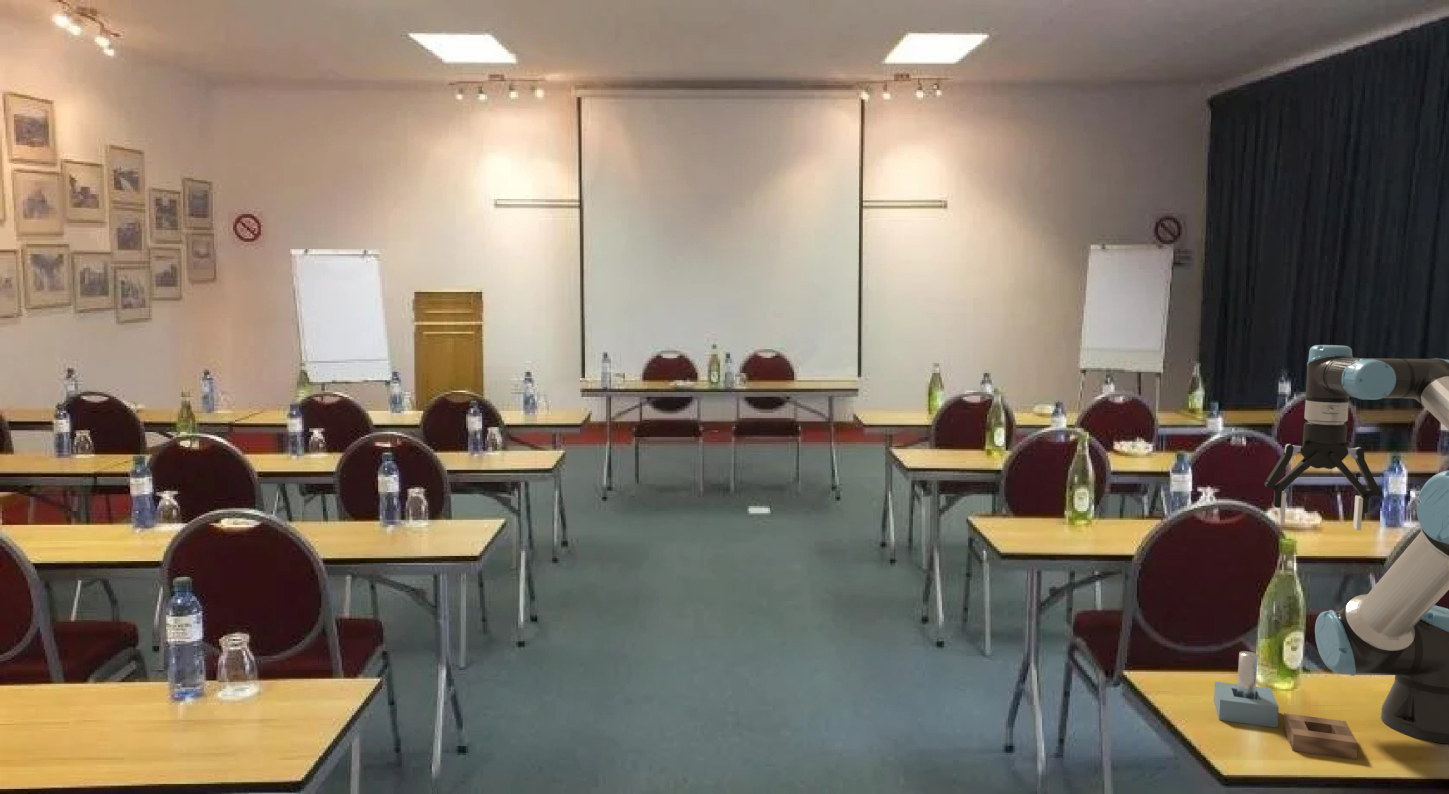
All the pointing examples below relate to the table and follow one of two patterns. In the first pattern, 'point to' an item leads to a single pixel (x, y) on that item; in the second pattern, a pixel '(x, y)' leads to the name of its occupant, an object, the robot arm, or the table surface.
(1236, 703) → the docking socket
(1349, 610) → the robot arm
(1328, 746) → the block
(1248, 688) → the pin
